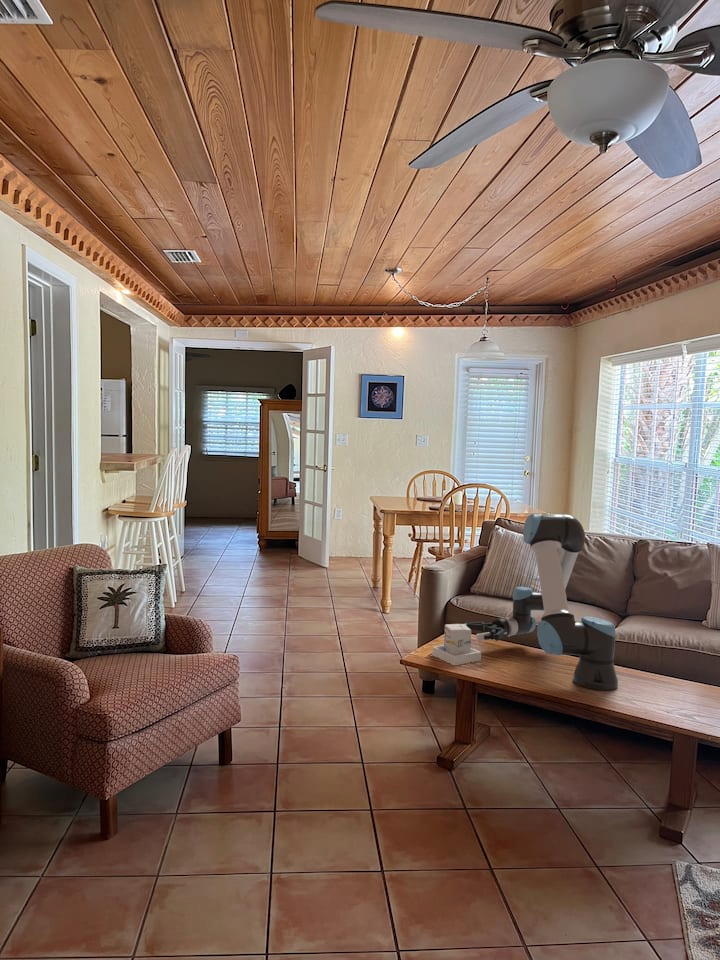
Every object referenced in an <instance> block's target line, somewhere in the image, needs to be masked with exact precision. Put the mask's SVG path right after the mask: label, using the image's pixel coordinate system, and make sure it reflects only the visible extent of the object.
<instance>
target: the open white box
mask: <svg viewBox="0 0 720 960" xmlns="http://www.w3.org/2000/svg"><path fill="white" fill-rule="evenodd" d="M432 656H433V657H434V658H437V657H438V658H437V659H439V658H440V659H439V660H441V661H443V660H444V662H445V661H446V662H445V663H448V664H449V663H450V665H452V666H453V665H455V666H459V664H461V665H465V663H466V664H471V663H470V662H472V663H476V662H475V661H477V662H481V660H482V652H481V651H479V650H477V649H475V648H472V647H471V652H470V653H469V654H463V655H457V656H454V655H452V654H449V653H447V652H445V651H444V644H443V645H442V644H441V645H436V646H432Z"/></svg>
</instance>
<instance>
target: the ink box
mask: <svg viewBox="0 0 720 960" xmlns="http://www.w3.org/2000/svg"><path fill="white" fill-rule="evenodd" d="M443 639H444V640H443V645H444V651H445V652H447V653H449V654H452V655H454V656H457V655H463V654H469V653H470V652H471V648H472V630H471V629H470V628H468V627H467V626H466V625H465V624H463V623H451V624H450V623H449V624H444V638H443Z"/></svg>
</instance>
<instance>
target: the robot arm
mask: <svg viewBox="0 0 720 960" xmlns="http://www.w3.org/2000/svg"><path fill="white" fill-rule="evenodd" d="M522 536H523V537H522V539H523V541H524V543H525V544H528V545H529V546H530V551H532V552H533V553H535V559H536V560H535V561H536V565H537V573H538V579H539V585H540V591H541V592H538V591H537V592H533V589H532V588H531V587H527V586H516V587H514V590H513V593H512V594H513V595H512V596H513V597H512V614H511V615H512V616H506V617H502V618H495V619H493V621H492V622H488V623H486V621H462V624H465V625H466V626H467V627H468V628H470V629H471V631H481V632H482V633H476V634H475V635H476V638H475V639H476V640H475V641H476V642H477V643H478V642H482V641H489V640H492V641H496V642H497V641H500V640H502V639H503V638H504V637H509V638H510V637H511V636H515V635H522V634H528V633H532V632H533V631H534V630H535V629H537V632H536V636H537V640H538V644H539V646H540V648H541V650H543V652H544V653H546V654H548V655H553V656H554V655H555V656H566V655H567V656H570V655H571V656H572V655H574V656H577V655H578V656H579V657H578V658H579V659H578V662H577V665H576V667H575V670H574V671H573V677H572V681H573V682H574V683H575V684H576V685H579V687H580V686H581V687H582V688H586V689H591V690H595V691H612V690H613V691H614V690H615V689H617V688H618V685H619V679H618V677H617V672H616V668H615V664H614V662H615V661H614V660H615V648H616V645H615V644H616V637H617V636H616V626H615V624H614V623H613V622H611V621H608V620H607V619H606V620H605V619H603V618H599V617H594V616H588V615H587V616H586V615H585V616H582V617H581V619H580V621H576V620H575V615H574V613H572V612H570V610H569V605H568V600H567V599H568V598H567V593H566V588H567V586H568V583H569V580H570V578H571V575H572V572H573V569H574V566H575V565H576V564H575V563H576V561H577V558H578V555H579V553H581V552H582V551H583V550H584V546H585V544H586V543H585V542H586V534H585V529H584V527H583V525H582V523H581V522H580V521H579V520H578V519H577V518H576V517H575V516H572V515H570V514H566V513H563V514H562V513H561V514H555V513H531V514H529V515H528V516H527V517H526V519H525V522H524V524H523V531H522ZM532 611H543V612H544V614H543V615H542V616H541V617H540V621H539V622H538V623H536V621H535V617H534V616H533V615H532V614H531V612H532ZM536 626H537V627H536Z"/></svg>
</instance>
